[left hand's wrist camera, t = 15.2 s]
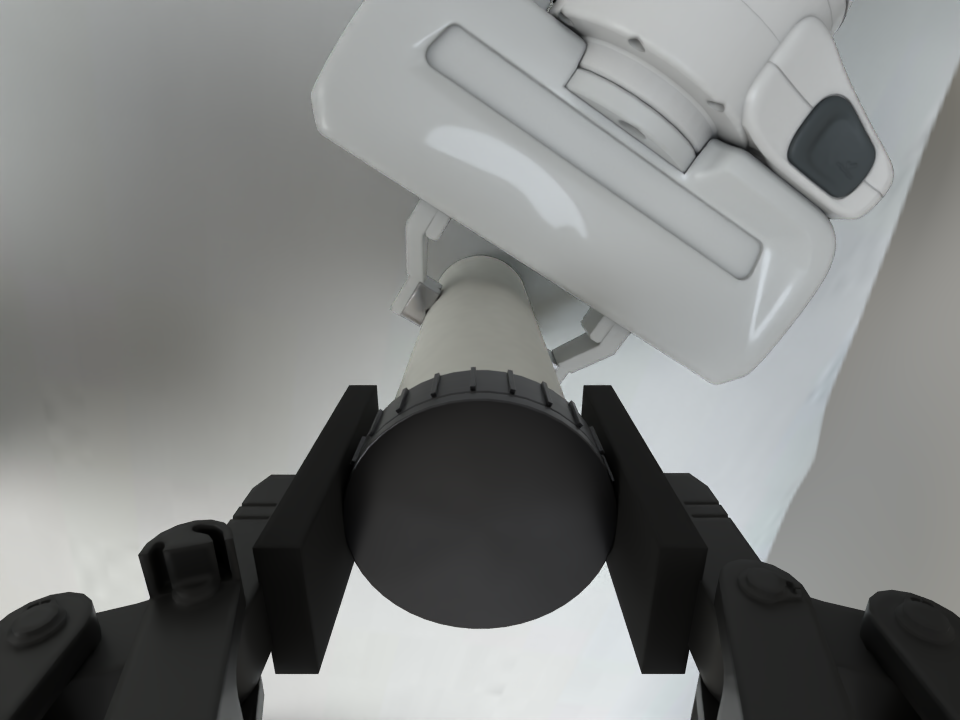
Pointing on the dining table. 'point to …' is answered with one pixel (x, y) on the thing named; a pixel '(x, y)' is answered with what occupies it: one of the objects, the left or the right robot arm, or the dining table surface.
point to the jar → (480, 327)
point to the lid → (480, 501)
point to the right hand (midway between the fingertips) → (470, 353)
